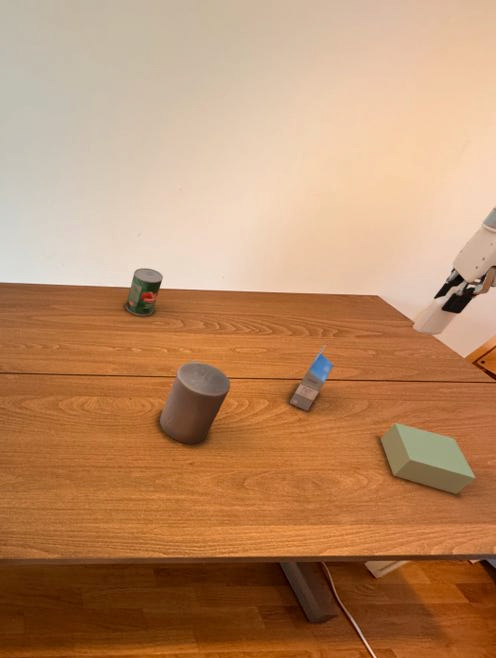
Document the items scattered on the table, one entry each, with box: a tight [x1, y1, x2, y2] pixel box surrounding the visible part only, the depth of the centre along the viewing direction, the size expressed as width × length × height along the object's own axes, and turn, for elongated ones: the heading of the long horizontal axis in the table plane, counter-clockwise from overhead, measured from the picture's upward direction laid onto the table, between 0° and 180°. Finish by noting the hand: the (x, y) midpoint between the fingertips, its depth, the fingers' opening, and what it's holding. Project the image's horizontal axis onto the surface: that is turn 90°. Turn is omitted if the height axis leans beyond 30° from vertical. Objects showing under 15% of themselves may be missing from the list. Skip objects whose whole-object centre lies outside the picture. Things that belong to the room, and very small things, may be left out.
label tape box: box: [289, 344, 334, 412], centre depth 93 cm, size 9×4×12 cm, turn 137°
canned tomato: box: [125, 267, 164, 317], centre depth 120 cm, size 8×8×11 cm
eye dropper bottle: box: [412, 283, 462, 336], centre depth 91 cm, size 4×6×12 cm
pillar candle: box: [159, 361, 231, 445], centre depth 83 cm, size 10×10×15 cm
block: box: [380, 422, 477, 495], centre depth 81 cm, size 10×10×5 cm
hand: (446, 305), depth 90 cm, fingers closed on eye dropper bottle, 4 cm apart
